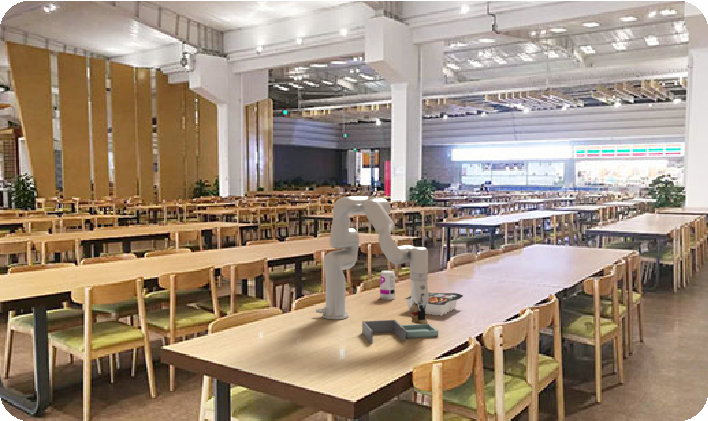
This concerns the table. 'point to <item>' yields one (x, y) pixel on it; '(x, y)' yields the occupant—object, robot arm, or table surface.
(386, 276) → the supplement can
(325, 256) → the robot arm
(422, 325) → the tray
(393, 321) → the bay
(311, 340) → the table surface
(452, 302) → the food packaging
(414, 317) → the chocolate bunny
